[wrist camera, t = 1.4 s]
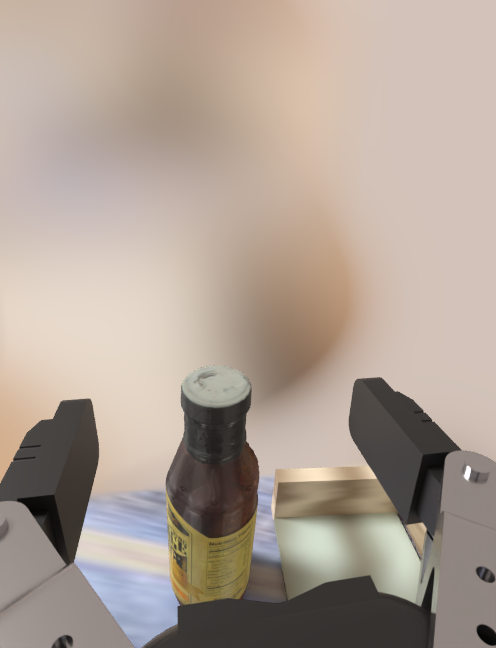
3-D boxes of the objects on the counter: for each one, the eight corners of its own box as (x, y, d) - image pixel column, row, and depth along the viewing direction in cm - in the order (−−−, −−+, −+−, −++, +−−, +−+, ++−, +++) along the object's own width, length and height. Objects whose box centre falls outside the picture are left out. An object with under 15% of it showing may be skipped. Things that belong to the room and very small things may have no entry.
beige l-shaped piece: (299, 669, 27) (308, 628, 25) (270, 502, 39) (274, 465, 37) (489, 652, 29) (513, 612, 27) (405, 497, 41) (417, 460, 39)
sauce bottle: (173, 549, 34) (164, 349, 26) (244, 544, 35) (260, 349, 26) (167, 635, 29) (154, 415, 20) (253, 627, 29) (277, 412, 21)
